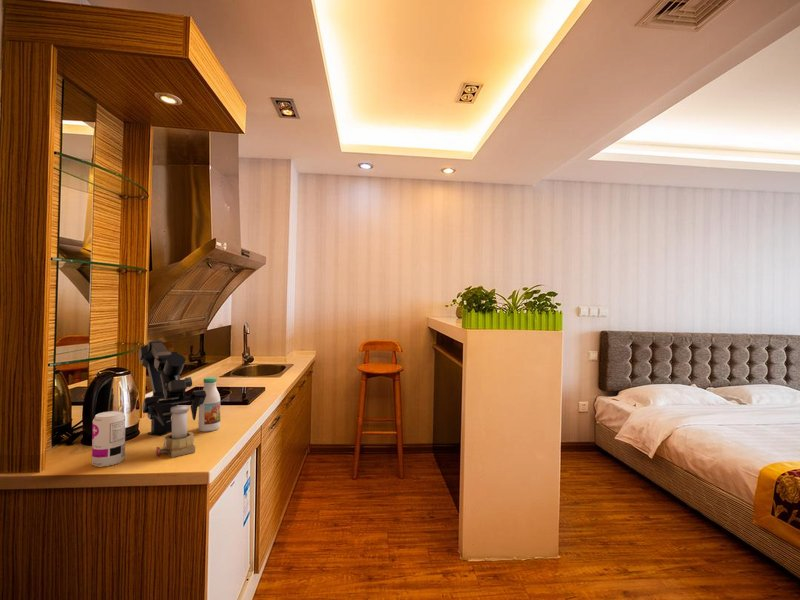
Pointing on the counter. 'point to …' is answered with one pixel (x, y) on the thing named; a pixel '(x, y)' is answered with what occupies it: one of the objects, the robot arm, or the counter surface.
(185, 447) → the valve body
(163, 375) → the robot arm
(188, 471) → the counter surface
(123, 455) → the supplement can
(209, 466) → the counter surface
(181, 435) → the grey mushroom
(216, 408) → the milk bottle
